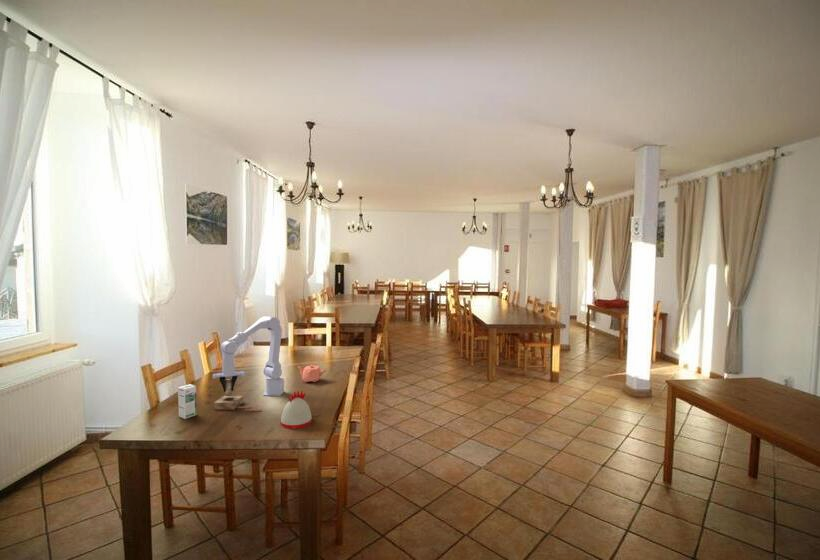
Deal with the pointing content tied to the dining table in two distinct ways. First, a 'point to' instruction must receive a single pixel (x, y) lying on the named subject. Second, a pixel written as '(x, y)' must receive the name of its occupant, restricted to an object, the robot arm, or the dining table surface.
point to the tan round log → (228, 387)
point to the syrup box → (187, 401)
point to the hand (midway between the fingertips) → (228, 390)
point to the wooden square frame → (228, 402)
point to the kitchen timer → (296, 412)
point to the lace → (248, 409)
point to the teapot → (311, 373)
